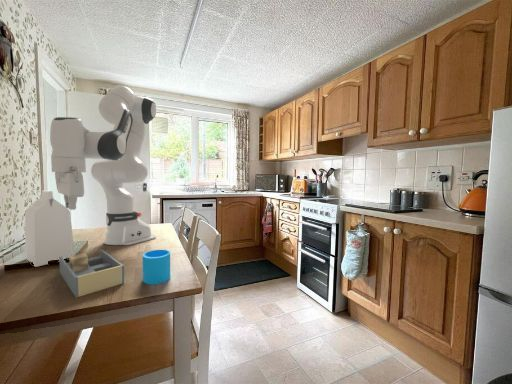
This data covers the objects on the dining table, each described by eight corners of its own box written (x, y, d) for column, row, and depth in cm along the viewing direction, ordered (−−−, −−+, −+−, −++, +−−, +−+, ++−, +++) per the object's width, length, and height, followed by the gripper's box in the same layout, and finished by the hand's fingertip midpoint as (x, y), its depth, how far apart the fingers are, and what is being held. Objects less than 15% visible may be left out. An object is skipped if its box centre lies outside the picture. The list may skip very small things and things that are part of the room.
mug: (172, 281, 75) (172, 255, 74) (143, 286, 71) (143, 259, 70) (166, 267, 85) (166, 245, 84) (141, 271, 81) (140, 248, 80)
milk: (74, 257, 92) (72, 190, 90) (35, 266, 83) (31, 192, 81) (62, 251, 99) (60, 189, 97) (25, 259, 89) (21, 190, 87)
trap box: (101, 263, 87) (101, 248, 87) (124, 282, 72) (123, 265, 72) (59, 273, 78) (59, 256, 78) (75, 297, 64) (75, 277, 63)
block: (84, 265, 78) (84, 253, 77) (88, 268, 75) (87, 256, 75) (69, 268, 75) (69, 256, 74) (72, 272, 72) (72, 259, 72)
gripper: (89, 167, 73) (90, 211, 75) (73, 167, 87) (75, 204, 88) (63, 166, 69) (65, 213, 70) (51, 166, 82) (53, 206, 83)
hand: (70, 208), depth 79 cm, fingers open, 3 cm apart
